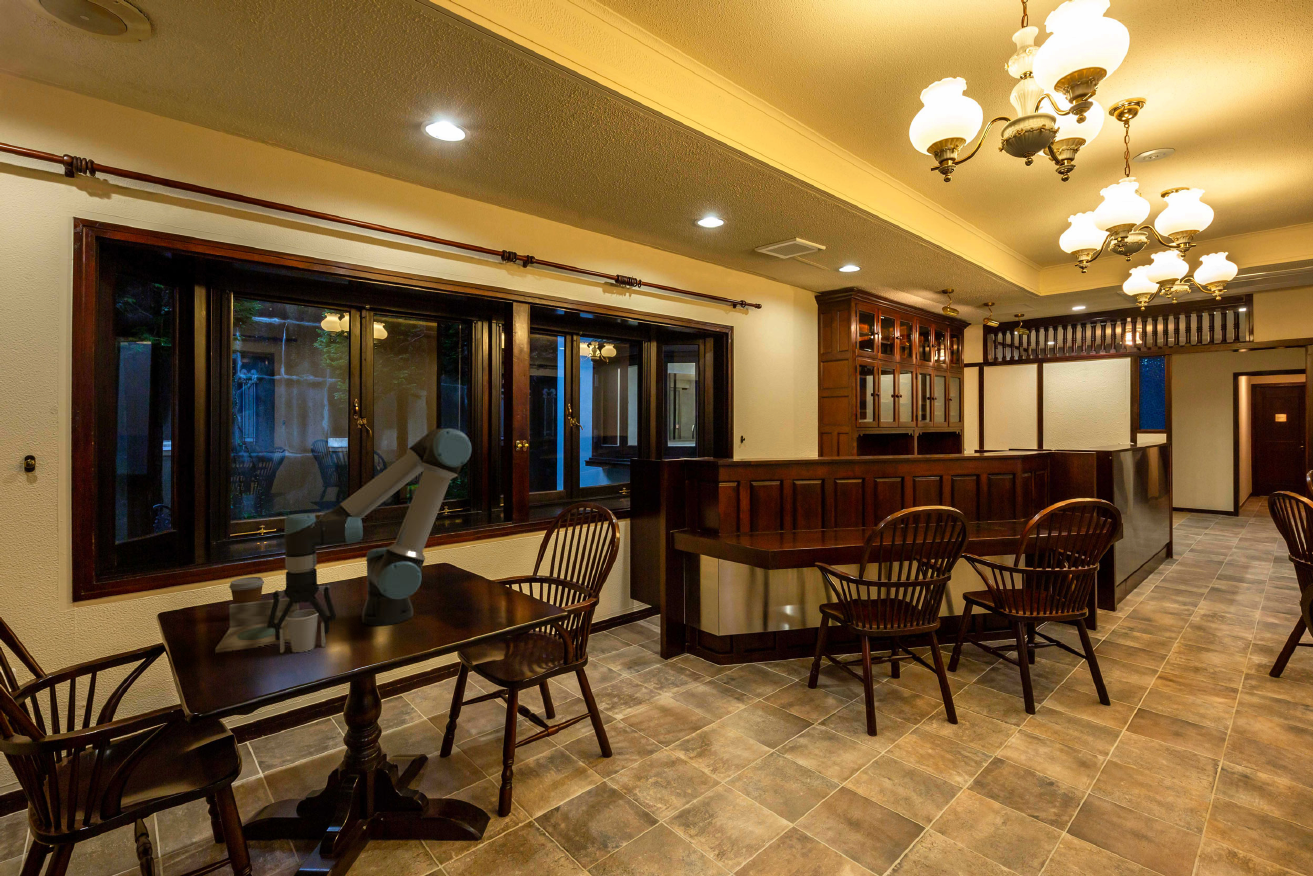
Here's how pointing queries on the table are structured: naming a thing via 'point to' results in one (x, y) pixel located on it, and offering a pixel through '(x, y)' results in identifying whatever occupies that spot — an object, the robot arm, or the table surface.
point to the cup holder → (253, 625)
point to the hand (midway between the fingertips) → (303, 648)
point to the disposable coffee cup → (246, 590)
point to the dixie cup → (302, 629)
